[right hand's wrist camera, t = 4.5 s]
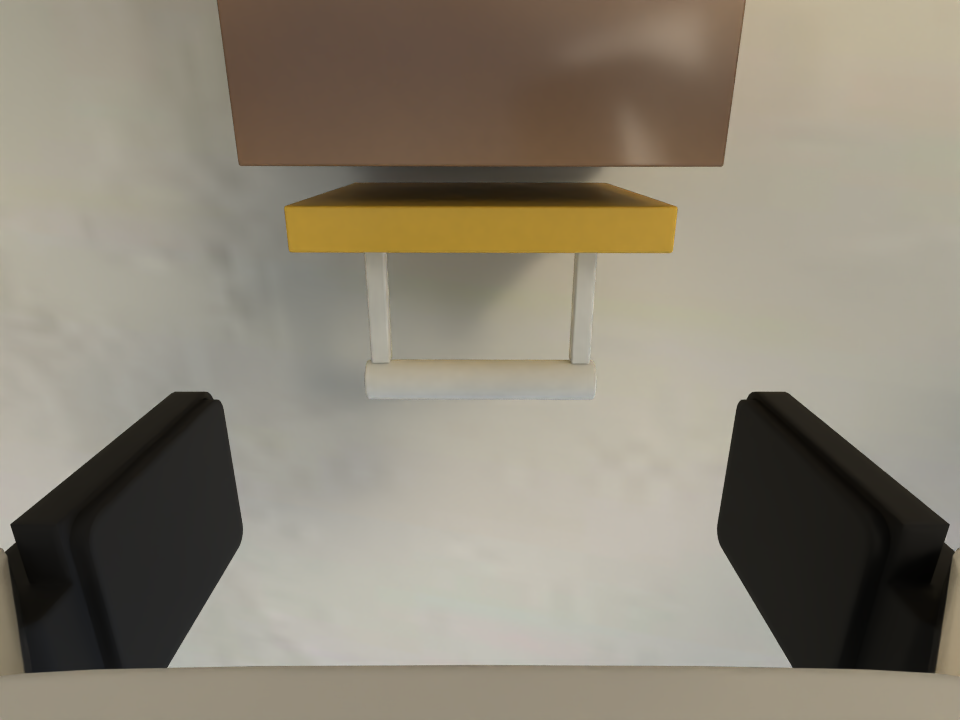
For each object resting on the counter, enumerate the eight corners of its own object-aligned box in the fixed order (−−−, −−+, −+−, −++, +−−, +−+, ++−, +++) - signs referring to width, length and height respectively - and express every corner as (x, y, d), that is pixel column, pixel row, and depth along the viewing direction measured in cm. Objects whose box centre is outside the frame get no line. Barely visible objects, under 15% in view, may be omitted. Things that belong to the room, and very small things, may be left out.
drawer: (596, 336, 26) (652, 433, 17) (365, 336, 26) (308, 432, 17) (640, -274, 19) (773, -619, 10) (323, -274, 19) (191, -618, 10)
